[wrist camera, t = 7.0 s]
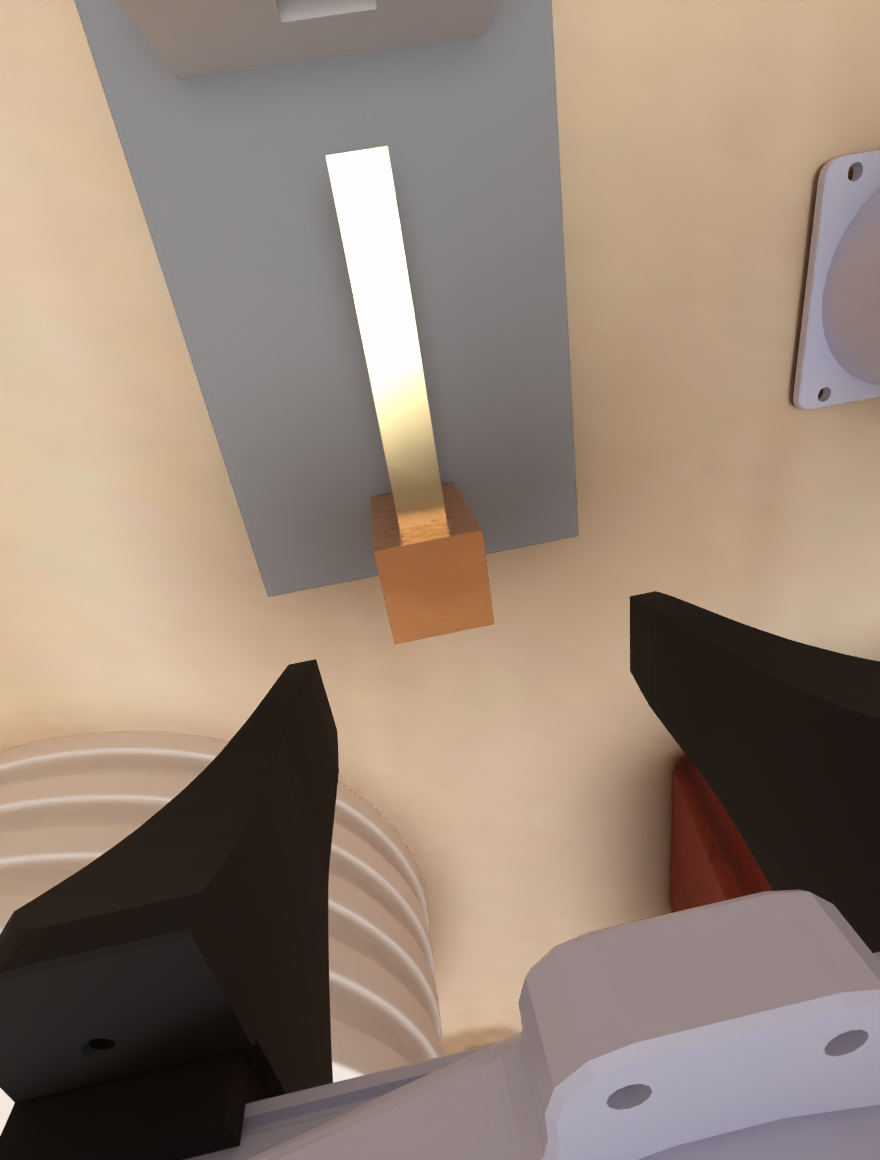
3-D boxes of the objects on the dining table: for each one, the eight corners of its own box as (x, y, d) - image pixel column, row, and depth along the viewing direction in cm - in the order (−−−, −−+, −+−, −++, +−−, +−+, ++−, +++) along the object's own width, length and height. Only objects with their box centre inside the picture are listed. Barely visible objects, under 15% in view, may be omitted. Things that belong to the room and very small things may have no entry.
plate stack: (-22, 1118, 35) (-182, 1458, 24) (-281, 768, 23) (-808, 1143, 12) (433, 1041, 38) (462, 1314, 27) (415, 697, 26) (455, 951, 16)
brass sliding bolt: (408, 176, 16) (429, 123, 12) (465, 558, 21) (494, 624, 17) (303, 192, 16) (283, 145, 11) (386, 574, 21) (394, 644, 17)
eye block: (524, -215, 14) (657, -634, 8) (567, 525, 23) (647, 604, 17) (38, -156, 14) (-236, -560, 7) (272, 583, 22) (239, 688, 16)
